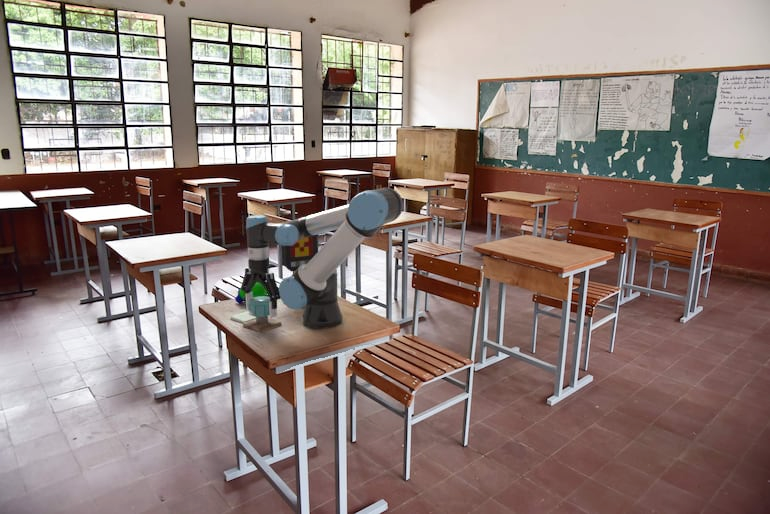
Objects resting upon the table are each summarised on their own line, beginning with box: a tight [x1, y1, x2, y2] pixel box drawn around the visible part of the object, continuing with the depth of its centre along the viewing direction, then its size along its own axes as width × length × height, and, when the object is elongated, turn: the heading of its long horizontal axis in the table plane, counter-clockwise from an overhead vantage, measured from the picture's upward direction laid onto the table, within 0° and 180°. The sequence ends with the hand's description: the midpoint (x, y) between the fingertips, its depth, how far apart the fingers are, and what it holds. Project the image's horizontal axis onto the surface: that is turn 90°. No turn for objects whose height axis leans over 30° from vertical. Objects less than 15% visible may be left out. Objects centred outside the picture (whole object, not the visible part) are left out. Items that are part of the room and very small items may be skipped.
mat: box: [229, 310, 256, 324], centre depth 210 cm, size 9×9×1 cm
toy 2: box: [280, 234, 319, 272], centre depth 230 cm, size 14×6×30 cm, turn 119°
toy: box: [234, 282, 269, 304], centre depth 226 cm, size 10×11×15 cm
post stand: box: [242, 315, 282, 333], centre depth 202 cm, size 10×10×9 cm
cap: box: [248, 296, 270, 317], centre depth 201 cm, size 8×11×5 cm
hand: (261, 313), depth 202 cm, fingers open, 13 cm apart
